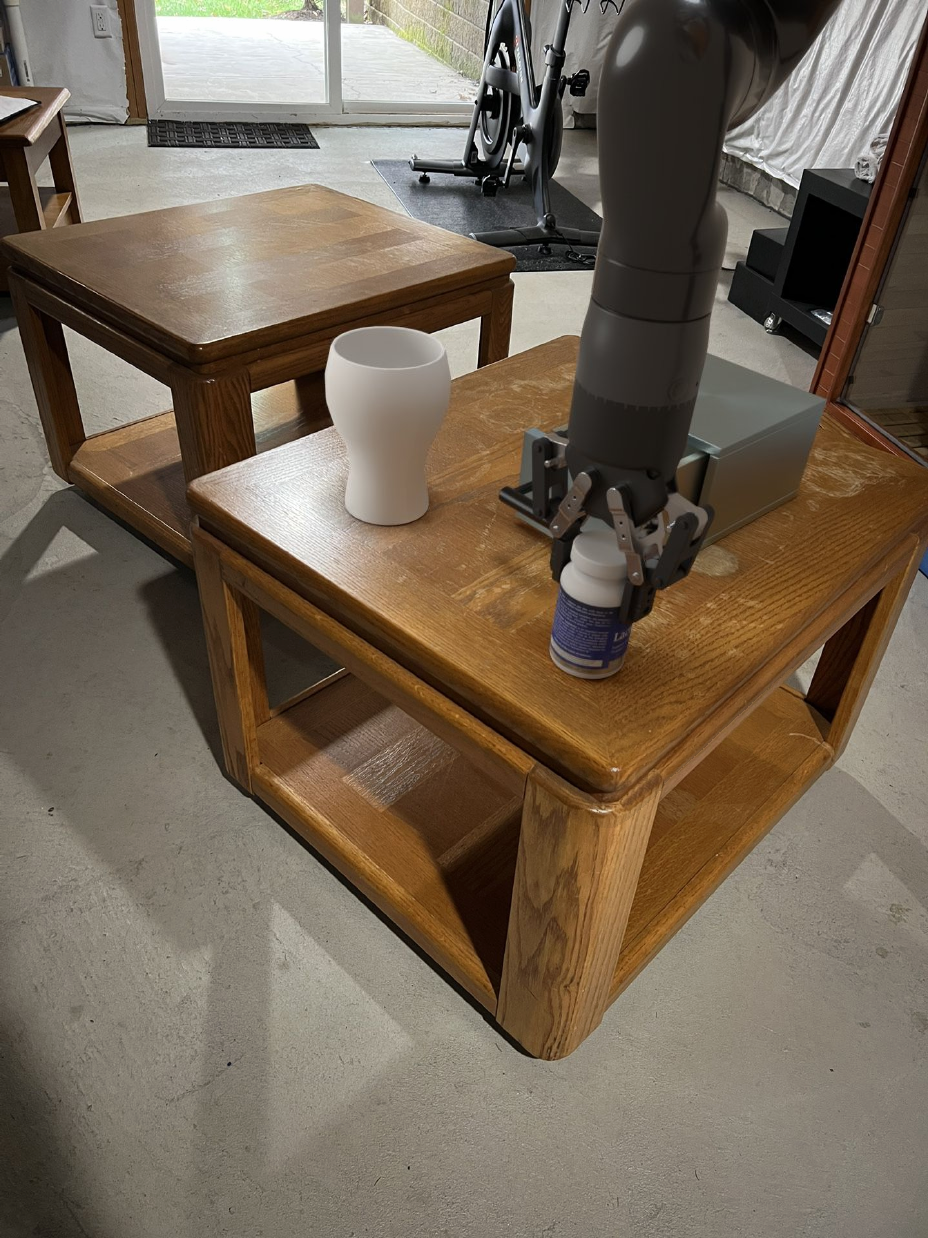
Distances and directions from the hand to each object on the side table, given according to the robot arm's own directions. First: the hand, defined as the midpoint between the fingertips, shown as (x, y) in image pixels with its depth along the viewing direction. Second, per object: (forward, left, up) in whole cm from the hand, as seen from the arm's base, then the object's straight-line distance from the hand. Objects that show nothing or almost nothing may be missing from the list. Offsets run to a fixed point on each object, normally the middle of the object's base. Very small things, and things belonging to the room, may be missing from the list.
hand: (596, 597), depth 67 cm
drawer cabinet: (+10, -27, -6) cm, 29 cm away
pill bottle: (0, 0, -6) cm, 6 cm away
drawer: (+10, -14, -5) cm, 18 cm away
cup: (+26, -2, -6) cm, 27 cm away
